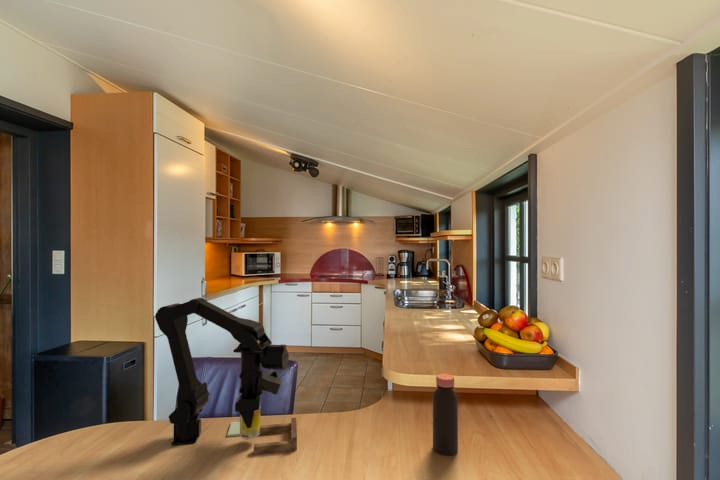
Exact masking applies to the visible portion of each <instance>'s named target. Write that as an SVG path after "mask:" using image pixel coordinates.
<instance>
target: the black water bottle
mask: <svg viewBox="0 0 720 480" xmlns="http://www.w3.org/2000/svg"><path fill="white" fill-rule="evenodd" d="M435 381H436V382H435V383H436V389H435V390H434V391H433V393H432V447H433V450H434V451H435V452H436V453H438V454H440V455H442V456H443V455H444V456H453V455H455V454H456V453H458V450H459V399H458V398H459V397H458V394H457V392H456V391H455V390H454V389H455V376H453V375H452V374H449V373H438V374H437V375H436V377H435Z"/></svg>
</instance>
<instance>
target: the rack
mask: <svg viewBox="0 0 720 480" xmlns="http://www.w3.org/2000/svg"><path fill="white" fill-rule="evenodd" d="M290 419H291V420H290V422H286V423H285V422H284V423H274V424H272V423H271V424H263V425H262V424H260V434H259V435H258V436H261V435H262V436H263V435H269V434H270V433H273V434H281V432H284V433H291V434H290V438H291V439H290V440H284V441H283V440H281V441H273V442H272V441H271V442H260V443H254V444H253V455H262V454H271V453H272V454H273V453H281V452H282V453H283V452H292V451H297V450H298V433H297V432H298V428H297V417H291V418H290ZM279 432H280V433H279Z"/></svg>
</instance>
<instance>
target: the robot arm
mask: <svg viewBox="0 0 720 480" xmlns="http://www.w3.org/2000/svg"><path fill="white" fill-rule="evenodd" d="M192 314H193V315H194V314H195V315H197V316H199V317H201V318H202V319H205V320H206V321H208V322H210V323H212V324H214V325H216V326H218V327H219V328H220V329H221V328H222V329H223V330H226V331H227V332H228V333H229V334H230V335H231V336H232V338H233V339H235V340H236V341H237V342H238V343H239V344H238V345H237V347H235V349H233V350H232V351H233V353H239V354H240V372H239V379H240V384H239V385H240V387H239V389H238V391H239V392H238V394H240V395H239V396H238V397H237V398H236V400H235V403H234V411H235V412H236V413H238V412H239V415H240V414H241V416H242V418H243V420H244V423H245V425H246V427H247V428H251V425H252V420H253V416H254V411H256V410H259V409H260V410H261V395H262V394H263V392H269V393H271V394H273V395H278V393H279V390H280V388H281V384H282V379H281V377H280V376H279V375H278V371H279V370H280V371H285V370H286V369H287V367H288V364H289V359H290V358H289V357H290V355H289V352H288V349H287V344H273V342H272V340H271V339H270V337H269V336H268V335H267V333H266V331H265V327H264V325H263V324H262V323H261V322H259V321H255V320H252V319H249V318H248V319H247V318H243V317H238V316H237V315H234V314H232V313H230V312H228V311H226V309H223V308H221V307H219V306H217V305H215V304H213V303H211V302H209V301H207V299H205V298H204V297H196V298H192V299H190V300H188V301H186V302H183V303H172V304H168V305H164V306H161V307H159V308H158V309H157V311H156V312H155V317H154V318H155V321H156V325H157V326H158V329H159V330H160V332H161V333H162V334H163V335H165V337H166V338H167V341H168V345H169V349H170V350H169V351H170V353H171V357H172V361H173V367H174V370H175V375H176V378H177V382H178V390H177V394H176V406H177V407H176V408H175V409H174V410H173V411H172V412H171V413H170V414H169V416H168V420H169V423H170V424H173V439H172V441H171V446H177V445H187V444H195V443H196V442H197V441H198V439H199V438H200V436H201V434H202V419H201V418H200V413H201V412H202V411H203V409H204V407H206V405H207V403H208V402H209V396H210V395H211V393H210V391H208V390H209V389H208V384H207V382H206V381H204V382H201V381H200V380H199V379H198V377H197V373H196V370H195V365H194V361H193V357H192V353H191V348H190V346H189V345H190V344H189V340H188V338H187V337H188V336H187V333H186V332H187V327H188V322H189V320H188V316H190V315H192ZM263 368H264V369H265V370H272V371H271V372H270V373H267V374H265V373H264V369H263ZM276 370H278V371H276Z"/></svg>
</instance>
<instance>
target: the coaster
mask: <svg viewBox="0 0 720 480" xmlns="http://www.w3.org/2000/svg"><path fill="white" fill-rule="evenodd" d="M226 437H227V438H228V437H241V436H240V420H239V421H231V423H230V426H229V429H228V432H227V436H226Z"/></svg>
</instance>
